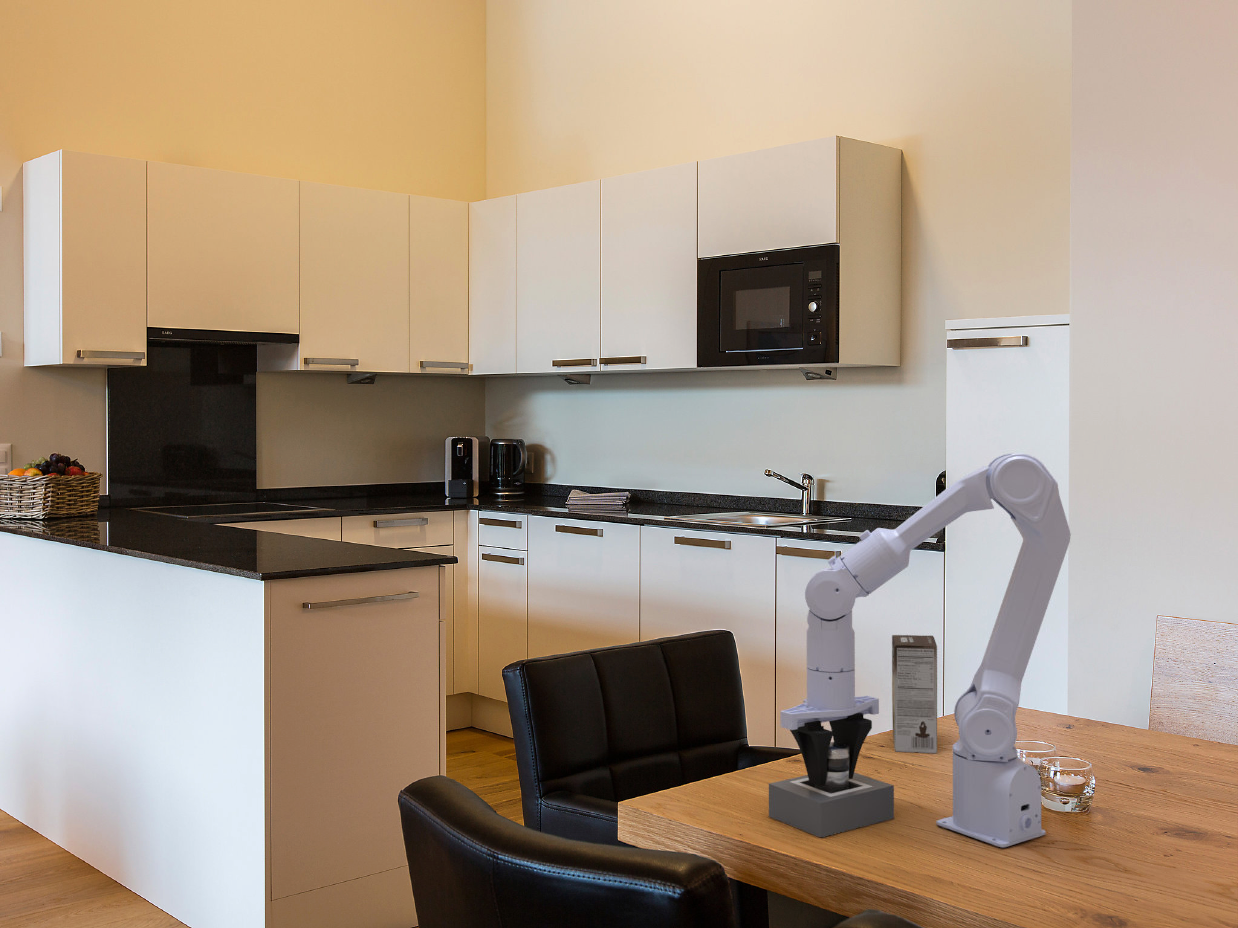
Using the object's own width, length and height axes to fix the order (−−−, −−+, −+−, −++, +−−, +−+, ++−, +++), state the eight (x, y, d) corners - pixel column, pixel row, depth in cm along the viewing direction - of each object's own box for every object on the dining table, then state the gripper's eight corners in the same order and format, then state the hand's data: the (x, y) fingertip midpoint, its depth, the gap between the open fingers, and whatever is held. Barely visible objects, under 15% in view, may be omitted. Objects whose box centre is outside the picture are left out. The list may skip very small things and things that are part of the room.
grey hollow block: (894, 818, 130) (893, 784, 130) (821, 837, 124) (820, 802, 124) (840, 798, 138) (840, 767, 138) (768, 816, 131) (768, 782, 131)
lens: (856, 798, 130) (856, 747, 130) (828, 802, 128) (829, 751, 128) (834, 788, 133) (835, 739, 133) (807, 792, 131) (808, 743, 131)
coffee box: (891, 736, 169) (890, 633, 169) (933, 738, 167) (933, 634, 167) (894, 752, 160) (893, 643, 160) (939, 754, 158) (938, 645, 158)
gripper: (849, 656, 138) (850, 762, 138) (763, 669, 130) (763, 781, 130) (891, 665, 132) (892, 776, 132) (803, 679, 124) (804, 797, 124)
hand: (831, 780), depth 131 cm, fingers closed on lens, 4 cm apart
